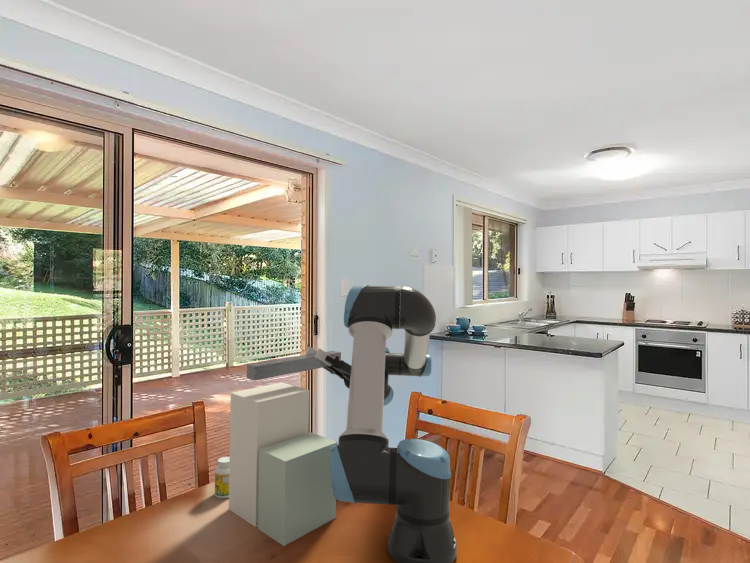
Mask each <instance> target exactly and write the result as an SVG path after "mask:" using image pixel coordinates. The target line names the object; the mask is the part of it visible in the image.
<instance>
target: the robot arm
mask: <svg viewBox="0 0 750 563" xmlns="http://www.w3.org/2000/svg"><path fill="white" fill-rule="evenodd" d="M343 310H344V312H343V324H344V325H343V326H344V327H345V328H347V329H348V333H349V335H350V336H351V337H352V338H353V342H352V353H351V354H352V355H351V364H349V363H348V362H346V361H344V360H342V359H341V361H340V360H339V357H338V356H336V357H335V359H334V357H333V356H331V355H329V354H328V353H326V352H327V351H325V350H324V349H321V348H319V347H318V348H317V350H316V349H314V348H313V347H311V346H308V347H307V349H306V352H305V354H304V355H310V354H316V355H315V358H317V359H318V360H320V361H322V362H323V363H325V364H327V365H328V367H323V368H322V369H324V370H325V371H327V372H329V373H330V374H331V375H336V376H337V377H339V379H341V380H343V383H344V386H345V387H346V388H347V389H348V390H349V391H348V402H347V415H346V426H345V427H346V428H345V430H344V431H343V432H342V433H340V434H339V436H338V442H337V444H335V445H333V446H332V447H331V453H330V475H331V486H332V491H333V495H334V497H335V498H336V501H338V502H342V503H352V504H355V505H356V504H373V505H374V504H375V505H395V506H396V514H395V516H394V521H393V523H392V524H393V525H392V528H391V530H390V532H389V533H388V539H387V551H388V555H389V556H390V558H391V559H392V560H393V561H394V562H395V563H454V562H455V561H456V559H455V558H457V555H456V554H457V551H458V550H457V549H458V547H457V546H458V544H457V539H456V537H455V532H454V529H453V525H452V523H451V518H450V500H451V499H450V496H451V495H450V490H451V486H450V485H451V483H450V482H451V478H452V472H451V458H450V456H449V453H448V452H447V450H446V449H445V448H443V447H442V446H441V445H439V444H437V443H435V442H432V441H429V440H427V439H426V440H425V439H420V438H408V439H402V440H400V441H399V442H398V444H397V446H396V447H391V446H390V447H389V445H390V444H389V442H390V440H389V438H388V436H387V435H386V434H385V433H384V431H383V430H384V429H383V428H384V427H383V425H384V407H385V406H387V405H389V404H390V403H391V402H392V401H393V399H394V395H395V394H394V390H393V388H392V386H391V385H390V384H389V376H403V377H404V376H407V377H409V376H410V377H419V378H420V377H430V376H431V374H432V356H431V355H430V354H428V351H429V343H430V337H431V333H433V331H434V329H435V327H436V321H437V315H436V311H435V307H434V306H433V304H432V303H431V301H430V300H429V299H428V298H427V297H426V296H425V295H424V294H423V293H422V292H420V291H419V290H417V289H415V288H413V287H410V286H405V285H404V286H402V285H401V286H394V285H391V286H390V285H387V286H386V285H369V284H365V285H355V286H353V287H351V288H350V289H349V291H348V293H347V295H346V299H345V303H344V309H343ZM399 329H401V330H404V348H403V349H404V350H403V353H399V352H398V353H396V352H393V353H392V352H390V349H389V348H388V347H387V340H388V339H389V338H390V337H391V336H392V334H393V330H399ZM331 365H332V366H331ZM454 560H455V561H454Z"/></svg>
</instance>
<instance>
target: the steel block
mask: <svg viewBox="0 0 750 563" xmlns="http://www.w3.org/2000/svg"><path fill="white" fill-rule="evenodd" d="M325 352H326V353H328V354H329V355H331V356H333V357H334V359H335V357H336V356H338V357H339V360H340V361H341V360H342V352H341V351H335V350H331V351H325ZM315 355H316V354H310V355H305V354H303V355H299V356H290V357H284V358H279V359H272V360H267V361H260V362H254V363H249V364H246V379H248V380H251V381H261V380H266V379H270V378H275V377H281V376H286V375H291V374H296V373H302V372H306V371H312V370H317V369H324V368H323V367H328V365H327V364H325V363H323V362H322V361H320V360H318V359H317V358H315ZM331 366H332V365H331Z"/></svg>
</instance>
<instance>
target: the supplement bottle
mask: <svg viewBox="0 0 750 563" xmlns="http://www.w3.org/2000/svg"><path fill="white" fill-rule="evenodd" d="M229 463H230V456H222V457H219V458H217V466H216V468H215V469H214V496H215V497H216V498H218V499H222V500H223V499H229Z"/></svg>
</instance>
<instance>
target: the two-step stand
mask: <svg viewBox="0 0 750 563" xmlns="http://www.w3.org/2000/svg"><path fill="white" fill-rule="evenodd" d="M229 416H230V417H229V418H230V419H229V420H230V422H229V457H230V463H229V498H228V510H230V511H231V512H232V513H234V514H236V515H237V516H239V517H240V518H242V520H244V521H246V522H247V523H249V524H251V525H252V526H253V527H255V528H256V527H257V529H258V530H259V531H260V532H262V533H263V534H265V535H266V536H267V537H269V538H271V539H272V540H274V541H276V542H277V543H278V544H280V545H281V546H283V547H285V546H287V545H288V544H291V543H293V542H294V541H297V540H298V539H299V538H301V537H303V536H305V535H307V534H309V533H311V532H313V531H314V530H316V529H318V528H320V527H322V526H323V525H325V524H327V523H329V522H331V521H333V520H334V519H336V517H337V499H336V498H335V497H334V495H333V491H332V486H331V475H330V453H331V447H332V446H333V445H335V444H337V445H338V442H337V441H335V440H332V439H330V438H327V437H324V436H322V435H319V434H316V433H314V432H310V431H309V429H310V428H309V426H310V424H309V422H310V418H309V417H310V390H309V389H306V388H303V387H300V386H295V385H292V384H288V383H285V382H277V383H271V384H268V385H263V386H258V387H252V388H247V389H243V390H238V391H233V392H230V414H229Z"/></svg>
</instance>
